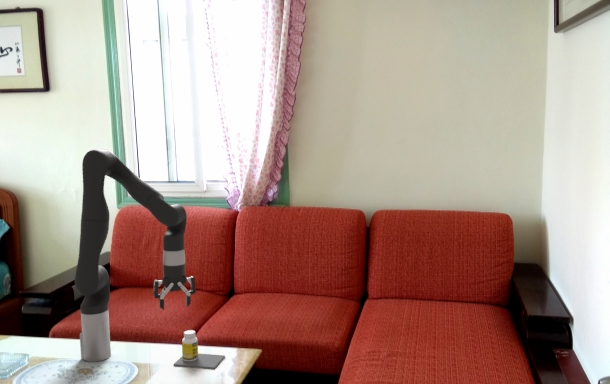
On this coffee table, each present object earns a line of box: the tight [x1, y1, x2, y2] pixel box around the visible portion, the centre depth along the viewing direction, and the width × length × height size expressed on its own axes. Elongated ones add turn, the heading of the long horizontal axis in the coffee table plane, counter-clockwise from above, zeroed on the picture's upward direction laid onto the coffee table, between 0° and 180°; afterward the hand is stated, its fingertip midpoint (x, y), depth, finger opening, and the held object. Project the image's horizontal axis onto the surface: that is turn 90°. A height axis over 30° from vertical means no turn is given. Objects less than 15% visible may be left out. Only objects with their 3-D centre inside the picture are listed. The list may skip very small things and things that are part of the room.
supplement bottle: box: [181, 329, 199, 361], centre depth 190 cm, size 5×5×10 cm
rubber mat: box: [173, 353, 226, 370], centre depth 190 cm, size 15×10×1 cm, turn 77°
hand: (175, 307), depth 189 cm, fingers open, 8 cm apart
